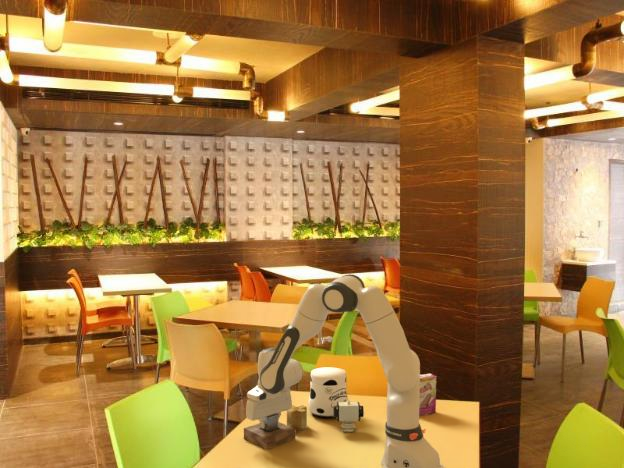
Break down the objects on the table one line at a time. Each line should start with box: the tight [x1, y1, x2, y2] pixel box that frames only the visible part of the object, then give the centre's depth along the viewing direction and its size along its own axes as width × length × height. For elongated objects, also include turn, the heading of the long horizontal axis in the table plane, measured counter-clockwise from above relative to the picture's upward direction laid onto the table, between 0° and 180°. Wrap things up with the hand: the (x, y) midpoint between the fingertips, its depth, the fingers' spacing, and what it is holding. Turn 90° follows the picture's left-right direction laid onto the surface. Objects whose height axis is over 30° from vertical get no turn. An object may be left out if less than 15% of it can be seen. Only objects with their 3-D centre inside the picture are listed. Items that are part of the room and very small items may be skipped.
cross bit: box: [286, 404, 308, 432], centre depth 241 cm, size 8×8×8 cm
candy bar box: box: [419, 373, 438, 417], centre depth 257 cm, size 11×5×16 cm, turn 115°
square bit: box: [261, 414, 278, 433], centre depth 230 cm, size 4×4×8 cm
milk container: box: [307, 366, 350, 418], centre depth 257 cm, size 17×17×18 cm
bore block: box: [243, 421, 296, 450], centre depth 230 cm, size 14×14×4 cm
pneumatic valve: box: [333, 400, 365, 433], centre depth 238 cm, size 6×12×12 cm, turn 91°
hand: (269, 425), depth 230 cm, fingers closed on square bit, 4 cm apart
